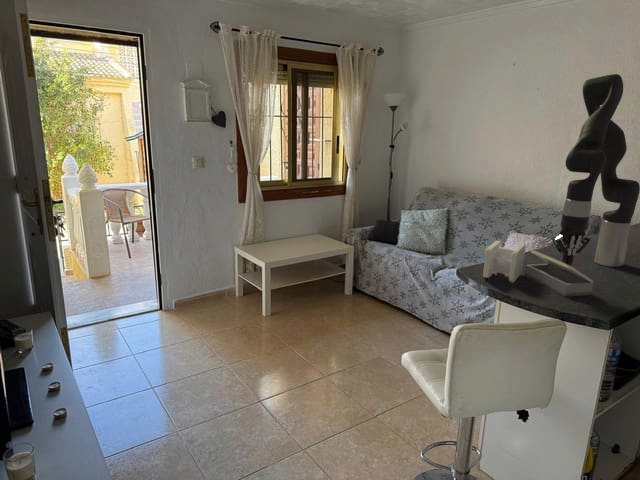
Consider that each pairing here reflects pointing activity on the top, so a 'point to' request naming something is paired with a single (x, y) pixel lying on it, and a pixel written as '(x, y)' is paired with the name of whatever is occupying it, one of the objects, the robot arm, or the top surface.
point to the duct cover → (561, 265)
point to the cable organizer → (504, 261)
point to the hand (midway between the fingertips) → (566, 265)
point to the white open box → (558, 280)
